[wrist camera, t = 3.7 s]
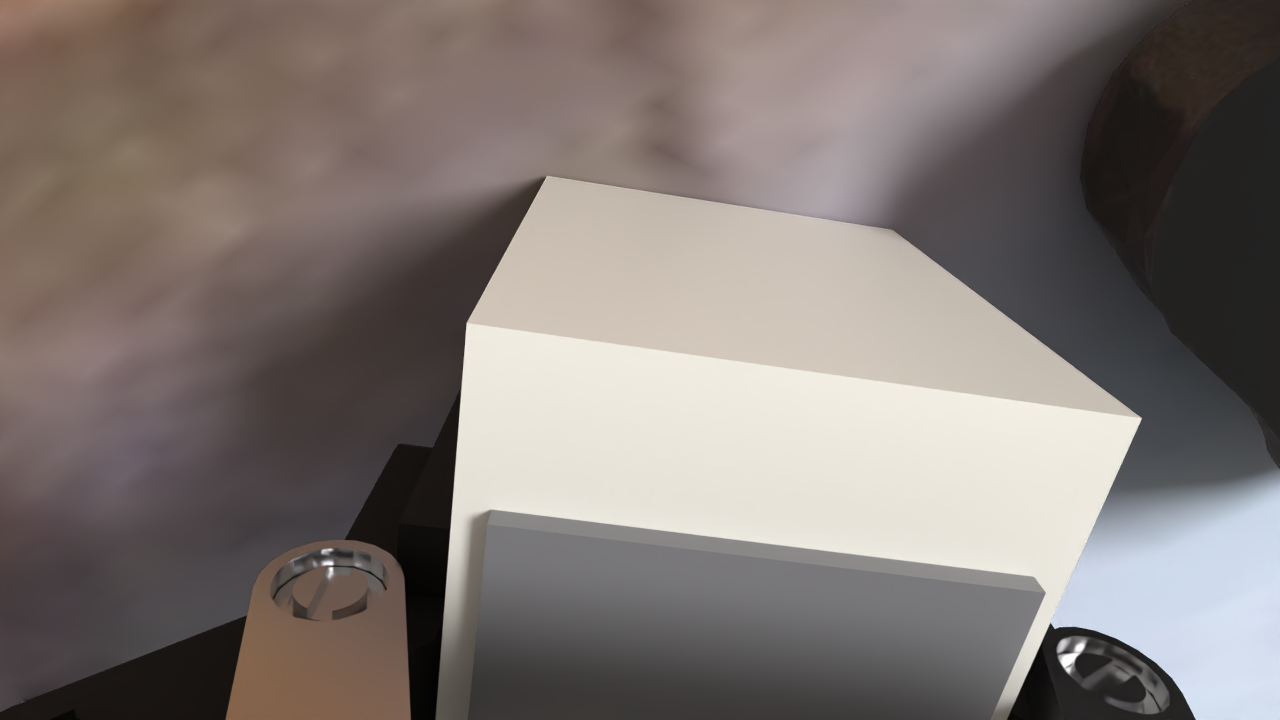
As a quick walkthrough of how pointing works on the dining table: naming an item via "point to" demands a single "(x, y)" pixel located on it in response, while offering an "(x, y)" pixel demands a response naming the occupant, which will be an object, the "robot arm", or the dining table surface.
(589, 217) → the block
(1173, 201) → the black sponge
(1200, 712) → the dining table surface
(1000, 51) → the dining table surface
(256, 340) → the dining table surface
